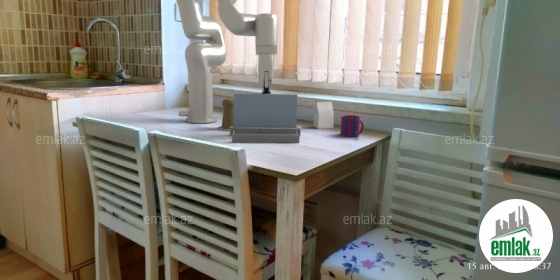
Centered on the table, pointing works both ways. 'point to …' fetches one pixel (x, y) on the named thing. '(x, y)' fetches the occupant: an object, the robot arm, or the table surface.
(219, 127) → the pad
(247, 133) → the bar
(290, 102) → the panel
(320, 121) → the white printed box
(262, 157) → the table surface
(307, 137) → the table surface
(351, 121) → the mug
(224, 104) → the cork
